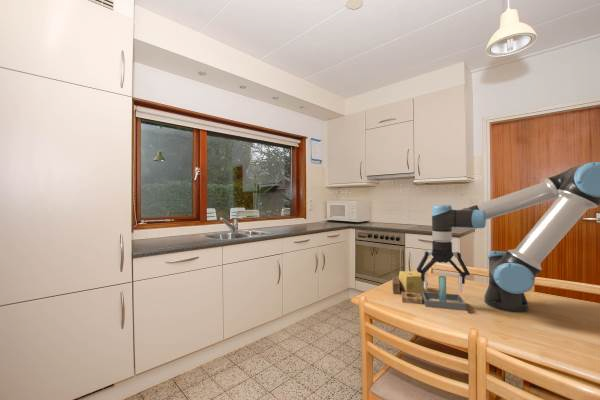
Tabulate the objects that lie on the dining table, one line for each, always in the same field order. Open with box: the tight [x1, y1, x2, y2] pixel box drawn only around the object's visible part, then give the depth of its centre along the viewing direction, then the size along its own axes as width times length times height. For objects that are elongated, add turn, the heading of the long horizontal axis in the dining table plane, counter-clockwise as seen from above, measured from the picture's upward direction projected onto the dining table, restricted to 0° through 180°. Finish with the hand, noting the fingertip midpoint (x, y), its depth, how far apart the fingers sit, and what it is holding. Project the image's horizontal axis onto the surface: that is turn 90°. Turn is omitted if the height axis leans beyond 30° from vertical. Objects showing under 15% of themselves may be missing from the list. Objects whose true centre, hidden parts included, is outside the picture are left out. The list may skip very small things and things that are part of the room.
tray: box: [421, 291, 467, 311], centre depth 117 cm, size 15×11×4 cm
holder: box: [400, 291, 423, 305], centre depth 122 cm, size 8×8×3 cm
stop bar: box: [391, 276, 401, 295], centre depth 135 cm, size 3×12×6 cm, turn 163°
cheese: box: [398, 270, 429, 296], centre depth 133 cm, size 10×11×10 cm
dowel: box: [438, 275, 447, 302], centre depth 117 cm, size 3×3×12 cm
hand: (442, 289), depth 117 cm, fingers open, 13 cm apart
